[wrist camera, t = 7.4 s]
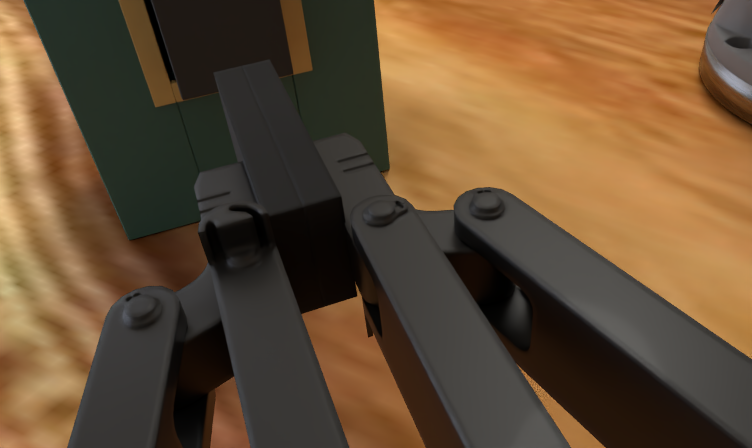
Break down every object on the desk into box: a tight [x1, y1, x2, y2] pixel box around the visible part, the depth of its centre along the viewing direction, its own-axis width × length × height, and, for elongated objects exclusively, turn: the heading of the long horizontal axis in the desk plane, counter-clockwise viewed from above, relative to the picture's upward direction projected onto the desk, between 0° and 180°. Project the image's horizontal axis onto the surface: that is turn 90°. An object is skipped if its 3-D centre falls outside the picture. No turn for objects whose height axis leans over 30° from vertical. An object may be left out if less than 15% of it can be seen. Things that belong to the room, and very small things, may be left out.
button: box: [151, 0, 293, 100], centre depth 24 cm, size 5×4×4 cm
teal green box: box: [24, 0, 390, 240], centre depth 28 cm, size 7×12×14 cm, turn 109°
